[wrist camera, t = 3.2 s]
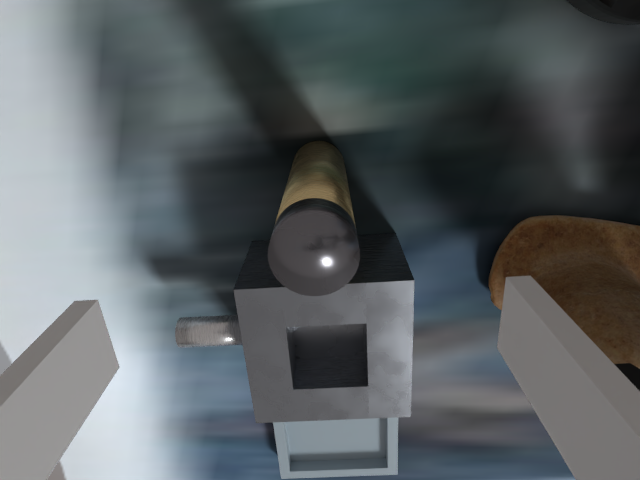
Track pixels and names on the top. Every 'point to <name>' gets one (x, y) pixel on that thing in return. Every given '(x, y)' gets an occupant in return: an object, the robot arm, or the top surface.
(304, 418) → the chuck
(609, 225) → the stone cup
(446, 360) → the top surface
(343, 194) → the cylindrical container
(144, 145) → the top surface
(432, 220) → the top surface
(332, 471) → the tray
